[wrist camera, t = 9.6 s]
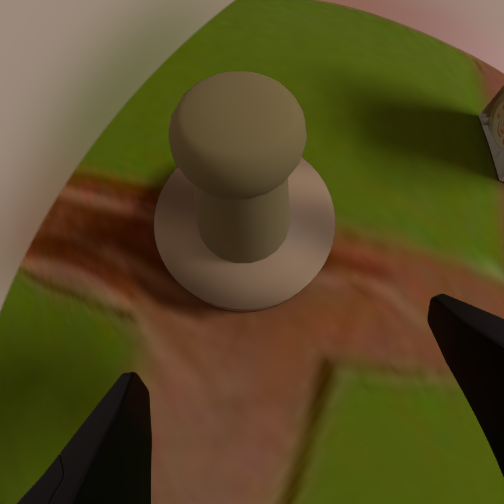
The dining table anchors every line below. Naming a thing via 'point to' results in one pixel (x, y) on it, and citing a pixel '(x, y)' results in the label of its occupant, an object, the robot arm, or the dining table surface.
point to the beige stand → (246, 274)
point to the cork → (239, 160)
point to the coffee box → (495, 130)
